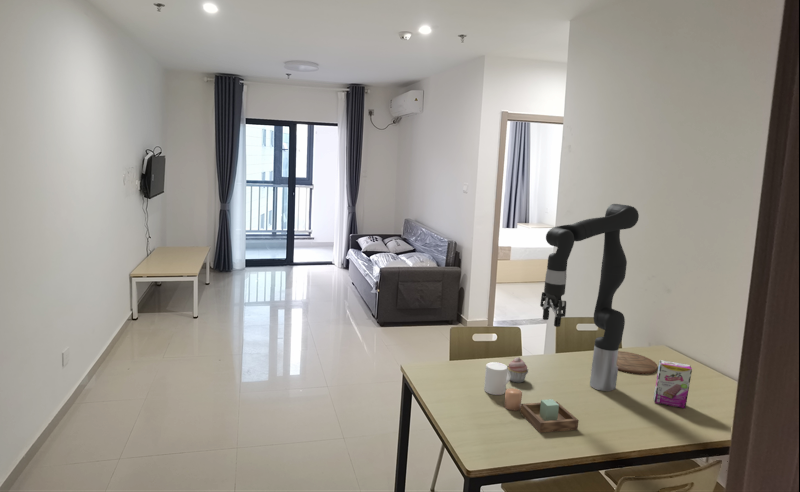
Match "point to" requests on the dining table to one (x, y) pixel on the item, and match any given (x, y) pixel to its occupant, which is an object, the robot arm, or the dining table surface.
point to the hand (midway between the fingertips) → (551, 322)
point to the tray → (561, 424)
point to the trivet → (635, 363)
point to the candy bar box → (672, 384)
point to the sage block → (549, 410)
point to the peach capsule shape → (513, 399)
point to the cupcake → (517, 370)
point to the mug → (496, 378)
